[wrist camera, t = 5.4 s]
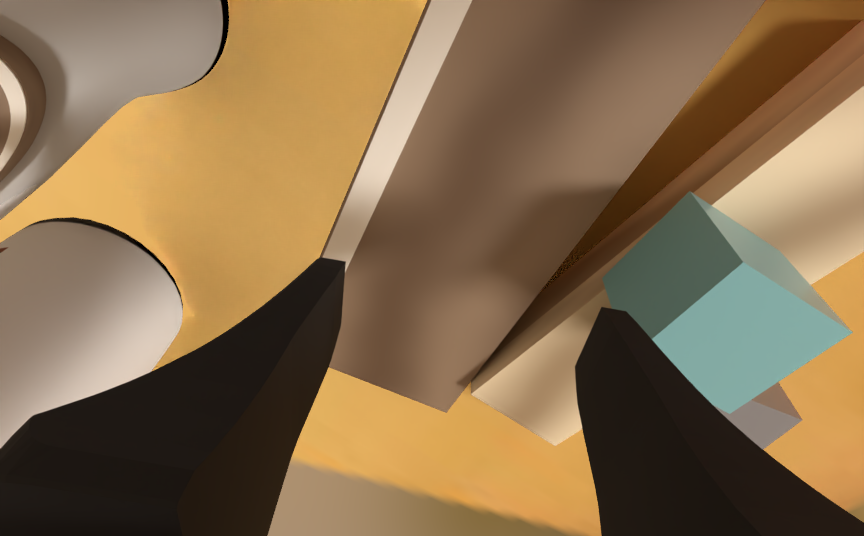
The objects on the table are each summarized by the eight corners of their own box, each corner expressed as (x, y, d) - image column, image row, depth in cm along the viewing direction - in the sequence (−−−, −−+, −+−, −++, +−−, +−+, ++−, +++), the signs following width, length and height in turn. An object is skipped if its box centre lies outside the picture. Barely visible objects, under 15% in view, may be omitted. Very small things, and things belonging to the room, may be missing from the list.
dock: (764, -50, 14) (802, -45, 13) (448, 380, 25) (446, 414, 23) (518, -210, 13) (523, -229, 11) (295, 318, 24) (280, 350, 22)
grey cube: (679, 315, 22) (755, 347, 23) (624, 374, 24) (695, 401, 25) (714, 385, 19) (802, 420, 19) (647, 446, 21) (728, 475, 21)
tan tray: (938, 121, 17) (1016, 155, 14) (548, 395, 26) (555, 446, 23) (855, 18, 15) (926, 36, 13) (471, 346, 24) (470, 394, 22)
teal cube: (779, 251, 17) (852, 332, 13) (686, 327, 19) (729, 414, 16) (689, 190, 16) (743, 262, 13) (601, 277, 18) (628, 359, 15)
